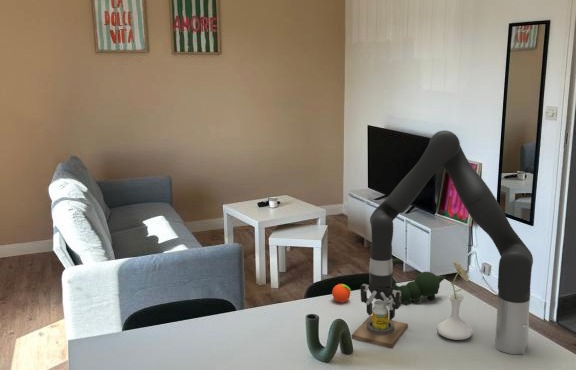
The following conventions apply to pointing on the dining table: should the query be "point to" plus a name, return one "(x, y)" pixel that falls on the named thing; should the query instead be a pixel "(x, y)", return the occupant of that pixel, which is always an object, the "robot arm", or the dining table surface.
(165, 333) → the dining table surface
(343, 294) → the clementine
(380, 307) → the supplement bottle
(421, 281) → the toy figurine
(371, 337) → the collar board
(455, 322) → the flower in vase
